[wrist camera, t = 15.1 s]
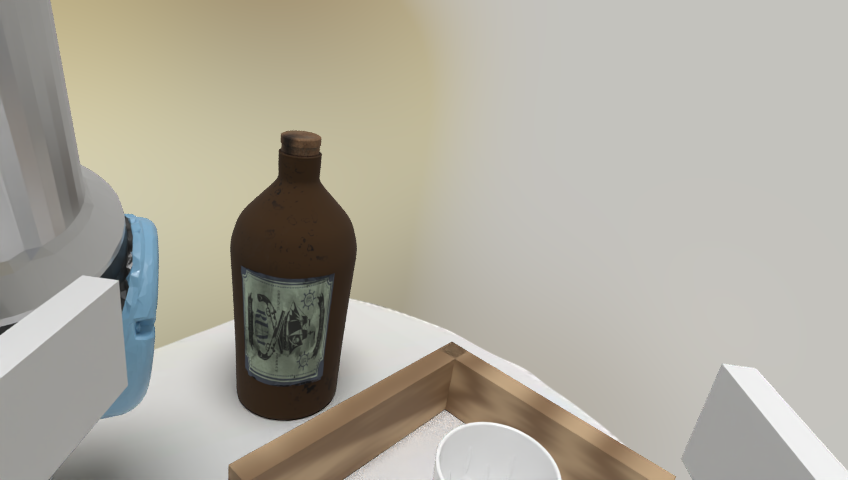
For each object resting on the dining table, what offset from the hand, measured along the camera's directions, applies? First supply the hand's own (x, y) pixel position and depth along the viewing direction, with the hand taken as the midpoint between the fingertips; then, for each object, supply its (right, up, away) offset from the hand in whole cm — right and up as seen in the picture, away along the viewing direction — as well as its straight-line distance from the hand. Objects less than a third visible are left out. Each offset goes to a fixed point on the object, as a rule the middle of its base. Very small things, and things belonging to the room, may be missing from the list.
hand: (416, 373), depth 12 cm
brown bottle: (-13, -12, +41) cm, 44 cm away
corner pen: (+2, -19, +29) cm, 34 cm away
